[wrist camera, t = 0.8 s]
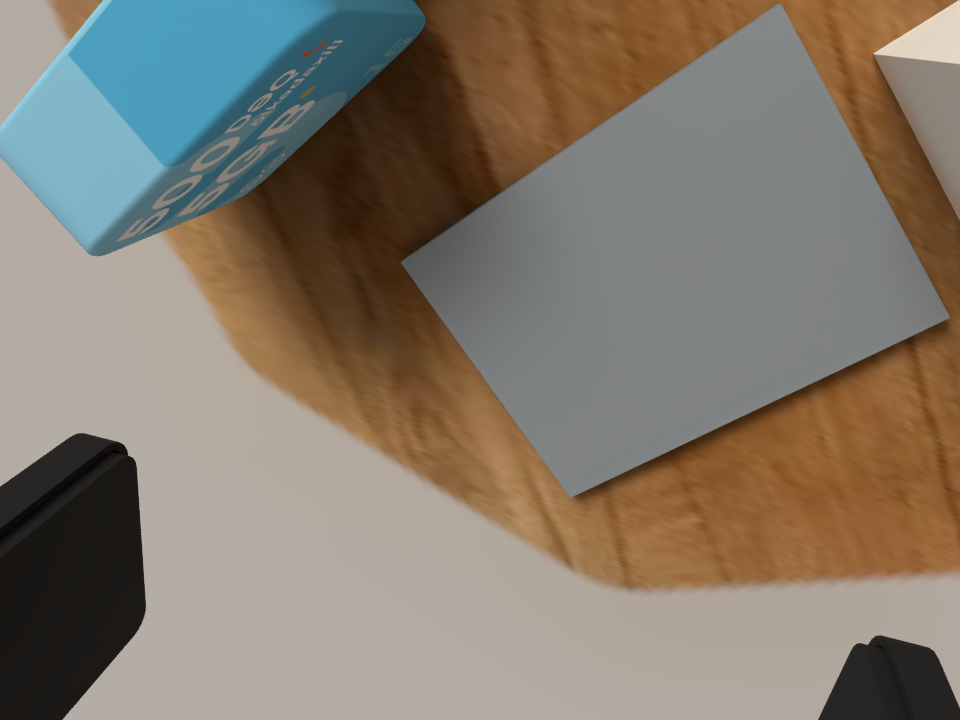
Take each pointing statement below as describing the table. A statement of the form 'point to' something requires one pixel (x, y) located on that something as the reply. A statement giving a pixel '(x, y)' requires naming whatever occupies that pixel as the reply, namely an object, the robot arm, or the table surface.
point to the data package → (189, 105)
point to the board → (680, 263)
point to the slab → (930, 91)
